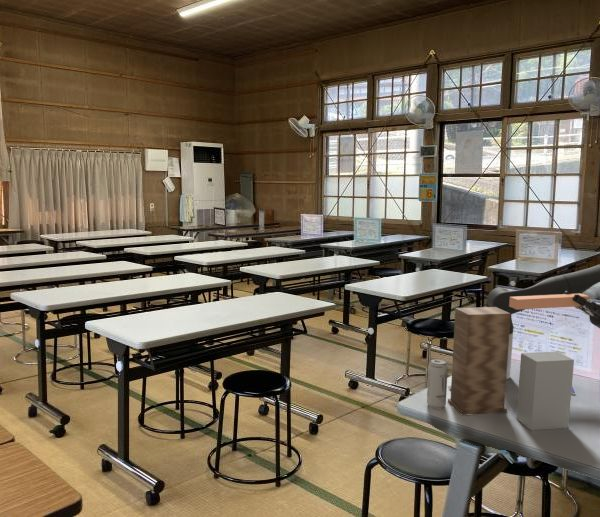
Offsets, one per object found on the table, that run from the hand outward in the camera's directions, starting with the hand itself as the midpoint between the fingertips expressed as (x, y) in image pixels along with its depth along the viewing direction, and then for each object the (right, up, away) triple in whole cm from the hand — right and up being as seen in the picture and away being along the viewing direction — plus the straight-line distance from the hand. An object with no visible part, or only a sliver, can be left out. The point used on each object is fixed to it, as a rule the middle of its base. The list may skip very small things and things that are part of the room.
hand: (569, 295), depth 168 cm
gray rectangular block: (-8, -39, 0) cm, 40 cm away
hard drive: (+11, -36, +30) cm, 48 cm away
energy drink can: (-38, -37, +12) cm, 54 cm away
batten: (-7, -3, -1) cm, 7 cm away
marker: (-22, -36, +23) cm, 48 cm away
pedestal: (-25, -37, +11) cm, 46 cm away
